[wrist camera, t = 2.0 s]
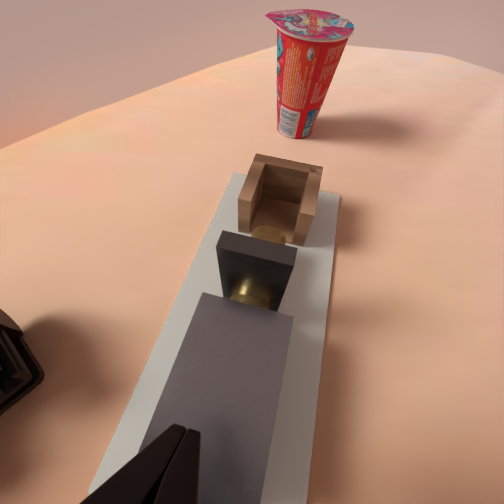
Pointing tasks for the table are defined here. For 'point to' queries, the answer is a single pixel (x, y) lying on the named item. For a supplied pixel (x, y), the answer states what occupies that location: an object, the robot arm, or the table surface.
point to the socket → (279, 197)
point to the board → (297, 362)
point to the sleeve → (227, 394)
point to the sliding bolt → (255, 266)
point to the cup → (306, 65)
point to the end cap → (15, 364)
